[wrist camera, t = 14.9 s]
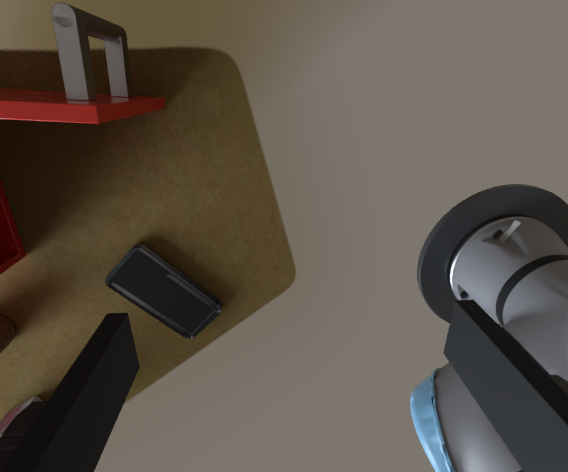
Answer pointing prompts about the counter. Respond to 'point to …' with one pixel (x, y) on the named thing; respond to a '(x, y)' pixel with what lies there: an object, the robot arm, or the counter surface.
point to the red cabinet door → (82, 77)
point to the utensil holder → (5, 333)
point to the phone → (163, 292)
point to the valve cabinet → (8, 235)
